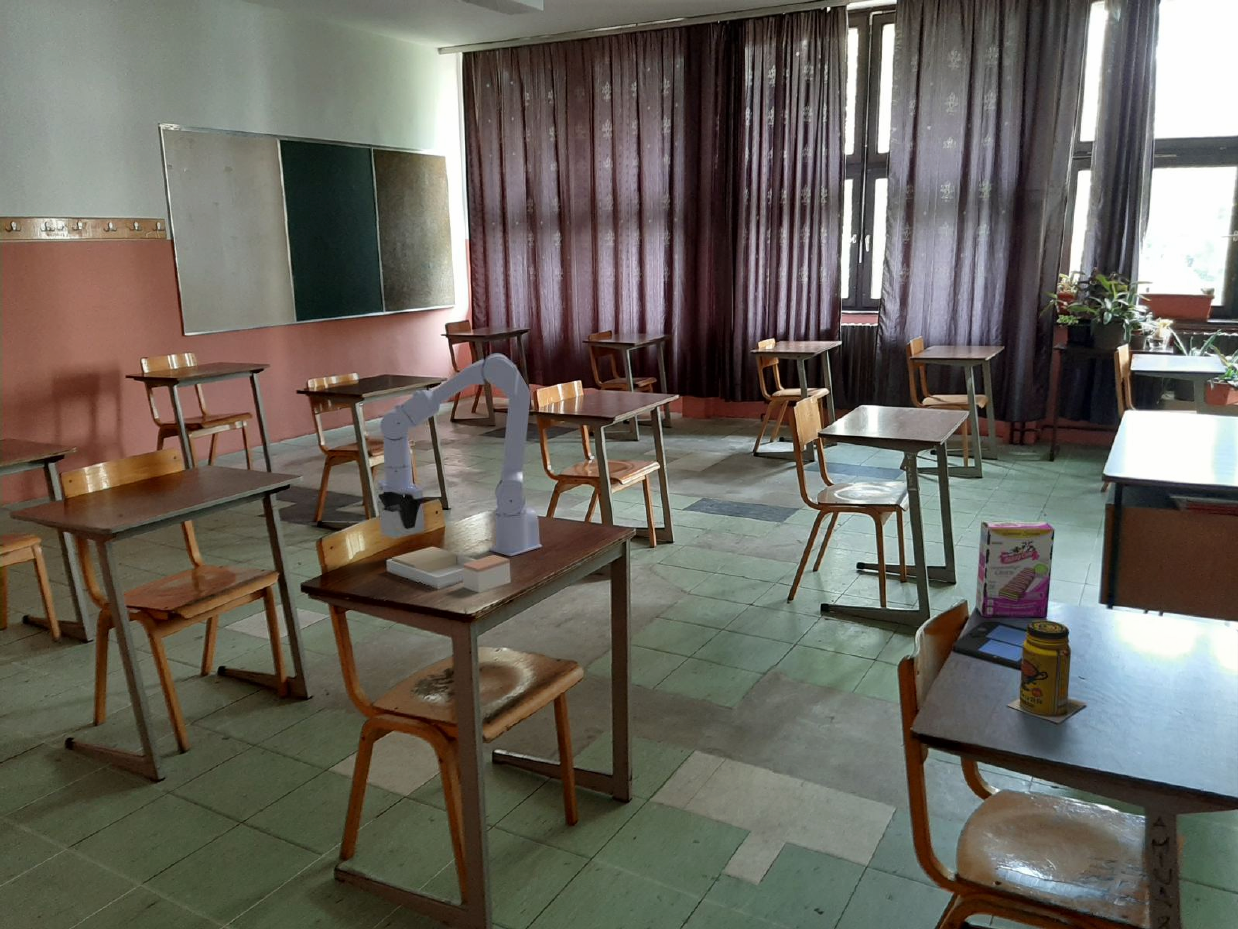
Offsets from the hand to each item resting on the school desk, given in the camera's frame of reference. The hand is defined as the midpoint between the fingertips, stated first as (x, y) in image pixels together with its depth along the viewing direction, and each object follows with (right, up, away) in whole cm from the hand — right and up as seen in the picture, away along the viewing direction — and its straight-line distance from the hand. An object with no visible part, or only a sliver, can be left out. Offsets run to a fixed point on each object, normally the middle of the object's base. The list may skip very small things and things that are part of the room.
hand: (402, 525), depth 204 cm
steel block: (0, -2, 0) cm, 2 cm away
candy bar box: (+117, -13, -41) cm, 125 cm away
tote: (+9, -9, -10) cm, 16 cm away
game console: (+110, -17, -56) cm, 125 cm away
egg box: (+21, -11, -18) cm, 30 cm away
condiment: (+107, -20, -75) cm, 133 cm away
